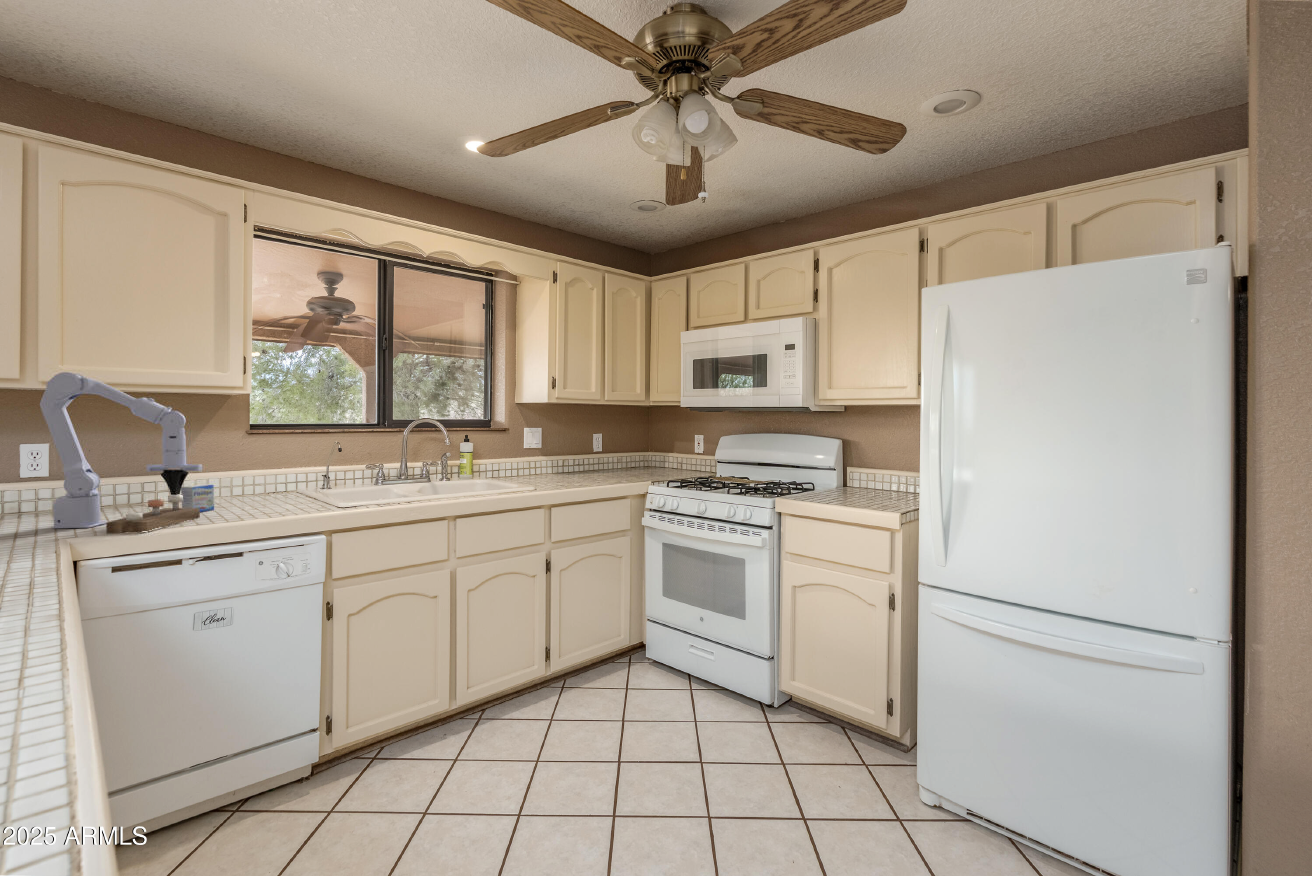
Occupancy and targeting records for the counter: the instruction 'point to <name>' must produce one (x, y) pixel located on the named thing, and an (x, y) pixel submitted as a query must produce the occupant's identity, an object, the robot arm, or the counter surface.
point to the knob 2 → (175, 501)
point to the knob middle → (156, 505)
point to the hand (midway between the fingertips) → (175, 494)
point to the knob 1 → (134, 516)
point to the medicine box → (198, 497)
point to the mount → (153, 520)
